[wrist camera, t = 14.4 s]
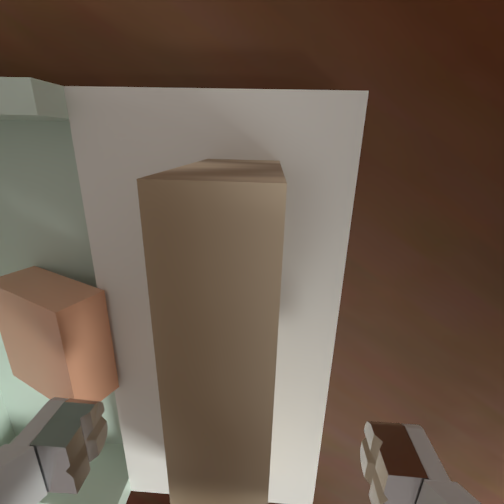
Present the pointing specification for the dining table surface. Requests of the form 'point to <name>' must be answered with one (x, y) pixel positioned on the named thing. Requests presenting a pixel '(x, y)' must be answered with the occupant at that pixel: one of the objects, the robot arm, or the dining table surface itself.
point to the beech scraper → (215, 321)
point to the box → (47, 254)
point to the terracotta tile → (57, 335)
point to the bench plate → (294, 246)
